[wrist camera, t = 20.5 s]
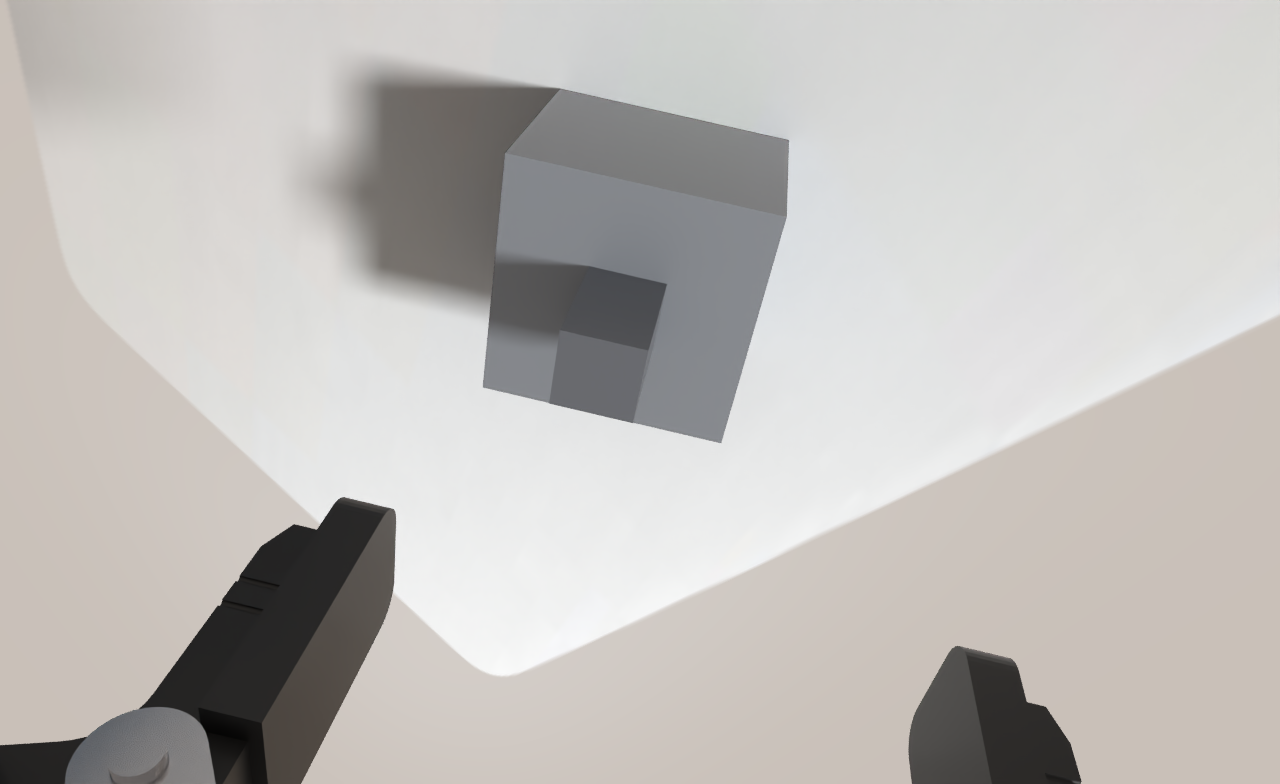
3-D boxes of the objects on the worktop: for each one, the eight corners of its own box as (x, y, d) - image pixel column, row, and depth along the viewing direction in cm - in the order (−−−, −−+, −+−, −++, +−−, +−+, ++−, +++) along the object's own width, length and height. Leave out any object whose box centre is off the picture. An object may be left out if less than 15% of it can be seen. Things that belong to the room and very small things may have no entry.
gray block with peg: (560, 88, 39) (461, 204, 28) (788, 140, 39) (784, 278, 27) (534, 293, 45) (443, 459, 33) (733, 339, 44) (711, 522, 33)
